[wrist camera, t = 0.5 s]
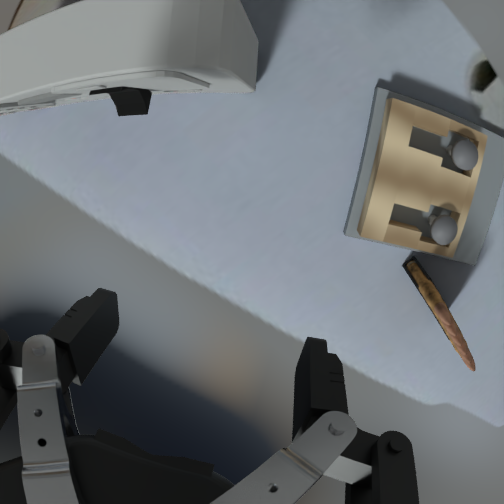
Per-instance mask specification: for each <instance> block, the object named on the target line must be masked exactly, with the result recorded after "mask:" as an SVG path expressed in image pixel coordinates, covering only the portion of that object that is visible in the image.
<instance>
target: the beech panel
mask: <svg viewBox="0 0 504 504" xmlns="http://www.w3.org/2000/svg"><path fill="white" fill-rule="evenodd" d="M413 126H414V127H417V128H420V129H423V130H425V131H428V132H431V133H434V134H436V135H439V136H445V137H447V136H448V131H451V132H453V133H456V134H458V135H461V136H463V137H465V138H468V139H470V141H471V142H472V143H474V144H475V146H476V148H477V150H478V162H477V164H476V166H475V167H474V168H473V169H471V170H463V172H462V174H461V173H458V172H456V171H453V170H450V169H447V168H445V167H442V166H441V164H442V159H443V158H442V157H439V156H436V155H433V154H430V153H428V152H425V151H422V150H419V149H416V148H413V147H409V141H410V136H411V131H412V127H413ZM487 137H488V136H487V135H485V134H483V133H481V132H479V131H477V130H474V129H472V128H470V127H468V126H466V125H463V124H461V123H459V122H456V121H454V120H452V119H449V118H447V117H444V116H442V115H439V114H437V113H434V112H432V111H429V110H426V109H424V108H421V107H418V106H415V105H412V104H410V103H407V102H404V101H401V100H398V99H395V98H389V99H386V105H385V110H384V116H383V121H382V126H381V131H380V136H379V141H378V145H377V150H376V155H375V159H374V164H373V168H372V172H371V176H370V181H369V185H368V189H367V193H366V197H365V201H364V204H363V208H362V212H361V216H360V219H359V223H358V227H357V231H358V233H359V235H360V237H364V238H369V239H373V240H378V241H382V242H387V243H391V244H396V245H400V246H404V247H409V248H413V249H417V250H422V251H426V252H430V253H434V254H438V255H442V256H447V257H451V258H453V256H454V253H455V251H456V248H457V245H458V242H459V240H460V237H461V234H462V231H463V228H464V225H465V222H466V219H467V216H468V212H469V209H470V206H471V203H472V199H473V196H474V192H475V189H476V185H477V181H478V177H479V173H480V169H481V165H482V161H483V156H484V152H485V147H486V142H487ZM394 203H395V204H399V205H403V206H407V207H410V208H414V209H417V210H421V211H425V212H429V208H430V205H431V204H432V205H435V206H438V207H442V208H445V209H448V210H451V211H452V212H451V215H450V217H451V218H453V219H454V220H455V222H456V223H457V227H458V230H457V235H456V237H455V239H454V240H453V241H452V242H451V243H449V244H447V245H440V244H438V243H437V242H436V241H435V240H434V239H432V238H428V237H424V236H421V234H422V232H421V231H420V230H419V229H418V228H417V227H416V226H413V225H409V224H405V223H401V222H397V221H393V220H390V217H391V213H392V210H393V206H394Z"/></svg>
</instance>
